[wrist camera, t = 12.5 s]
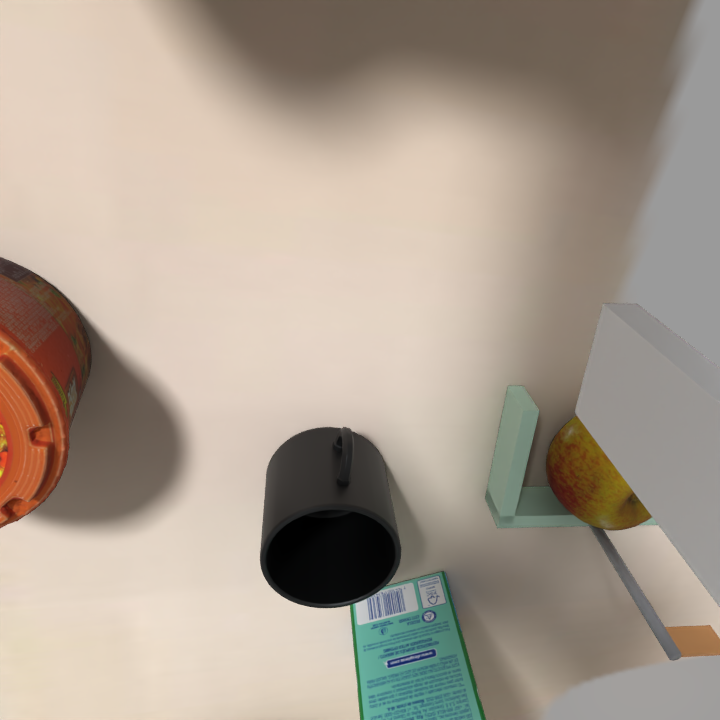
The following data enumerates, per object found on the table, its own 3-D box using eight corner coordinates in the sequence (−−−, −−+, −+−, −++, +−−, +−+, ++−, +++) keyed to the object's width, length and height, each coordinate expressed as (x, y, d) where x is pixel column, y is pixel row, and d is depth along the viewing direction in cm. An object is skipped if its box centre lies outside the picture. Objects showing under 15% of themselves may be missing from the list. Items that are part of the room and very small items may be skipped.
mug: (405, 405, 45) (428, 482, 37) (370, 524, 50) (383, 613, 42) (281, 388, 43) (277, 465, 35) (258, 512, 49) (250, 604, 41)
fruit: (589, 496, 51) (635, 568, 44) (509, 456, 48) (545, 526, 41) (669, 414, 48) (733, 478, 41) (588, 365, 45) (642, 425, 38)
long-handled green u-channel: (507, 385, 45) (598, 533, 31) (697, 386, 47) (862, 527, 33) (485, 498, 50) (554, 667, 36) (656, 495, 52) (784, 657, 38)
